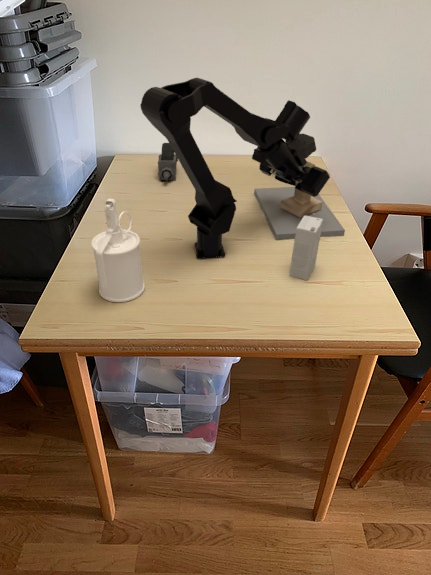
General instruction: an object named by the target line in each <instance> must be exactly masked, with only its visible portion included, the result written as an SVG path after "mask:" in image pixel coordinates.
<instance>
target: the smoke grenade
mask: <svg viewBox="0 0 431 575" xmlns="http://www.w3.org/2000/svg"><path fill="white" fill-rule="evenodd" d="M104 204H105V207H104V213H105V219H106V221H105V224H106V227H107V228H106V230H104V231H102V232H100V233H98V234H96V235H95V236H94V237H93V238H92V239H91V241H90V246H91V249H92V251H93V255H94V260H95V266H96V267H95V268H96V273H97V278H98V284H99V285H98V286H99V287H98V294H99V295H100V296H101V297H102V298H103V299H104V300H106V301H107V302H108V301H109V302H112V303H126V302H130V301H133V300H136V299H137V298H139V296H141V295H142V294H143V293H144V291H145V288H146V286H145V281H144V280H143V279H144V278H143V268H142V259H141V250H140V244H141V237H140V235H138V234H137V233H136V232H135V231H132V226H133V219H132V215H131V214H130V212H129V211H126V210H124V211H122V212H121V213H120V214H119V216H118V210H117V209H118V208H117V202H116V201H115V199H114V198H108V199H106V200H105V202H104ZM124 214H127V216H128V217H129V218H128V220H129V226H128V228H127V229H125V228H122V227H121V223H120V221H121V220H122V217H123V215H124Z"/></svg>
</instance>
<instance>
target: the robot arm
mask: <svg viewBox="0 0 431 575" xmlns="http://www.w3.org/2000/svg"><path fill="white" fill-rule="evenodd" d="M139 107H140V109H141V110H140V111H141V112H142V115H144V117H145V118H146V119H147V120H148V122H149V123H150V124H151V125H152V126H153V127H154V128H155V129H156V130H157V131H158V132H159V133H160V134H161V135H162V136H164V138H165V139H166V140H167V143H169V144H170V145H171V147H172V149H173V151H174V155H176V156H177V158H178V161H179V163H180V165H181V167H182V168H183V170H184V173H185V174H186V175H187V177H188V179H189V181H190V182H191V185H192V186H193V188H194V191H195V192H194V193H195V194H194V200H195V205H194V207H193V208H192V209H191V211H190V212H189V213H188V215H187V218H188V221H189V223H190V224H191V225H194V226H195V227H196V242H194V243H193V244H194V251H195V255H196V256H195V257H196V259H212V258H213V259H214V258H225V257H226V252H225V249H224V245H223V235H224V234H226V233H229V232H230V230H231V226H232V223H233V221H234V218H235V213H236V211H237V206H236V202H237V199H235V198H234V196H233V193H232V192H233V191H232V189H231V188H230V187H229V186H227V185H225V184H223V183H222V182H220V181H217V180H216V179H215V178H214V175H213V173H212V171H211V170H210V168H209V166H208V164H207V162H206V160H205V158H204V156H203V154H202V152H201V150H200V148H199V146H198V144H197V142H196V139H195V138H194V136H193V134H192V131H191V120H192V119H191V117H194V116H196V115H198V113H199V112H200V111H201V110H202V109H203V107H205V108H206V109H207V110H209V111H210V112H211V113H213V114H215V115H217V116H218V117H219V118H221V119H222V120H224V121H225V122H227V123H228V124H230V125H231V126H232V127H233V128H234V131H235V132H236V134H237V135H238V136H239V137H240V138H241V139H242V140H243V141H245V142H247V143H249V144H252V145H254V146H255V147H256V146H257V147H256V148H254V149H253V153H252V156H251V159H252V160H253V161H255V162H258V163H259V167H258V169H259V170H260V172H261V173H262V174H264V175H266V176H269V177H270V176H272V174H273V175H275V176H274V180H276V181H279V182H281V183H283V184H286V185H290V186H292V187H295V183H296V181H297V182H298V184H297V185H296V187H295V188H296V189H298V190H300V191H302V192H305V193H307V194H309V195H311V196H313V197H315V196H317V195H318V194H319V195H320V193H321V191H322V189H323V188H324V187H325V185H326V184H327V182H328V181H329V180H330V178H331V175H330V173H329V172H328V171H327V170H326V169H324V168H321V167H319V166H316V165H315V167H312V168H310V167H308V166H305V164H306V163H307V160H306V159H307V158H309V156H311V155H312V154H313V153H315V152H316V151H317V146H316V140H315V138H314V136H311V135H309V134H306V133H301V132H302V130H303V129H304V128H305V126H306V124H308V122H309V120H310V119H311V115H310V114H309V112H308V111H307V110H305V109H304V108H302V107H301V106H299V105H298V104H297V103H296V102H295V101H293V100H290V99H289V100H287V101H286V103H285V104H284V106H283V108H282V110H281V111H280V113H279V114H278V116H277V118H276V119H274V120H273V119H271V118H268V117H262V116H260V115H258V114H254V113H252V112H250V111H249V110H247V109H246V108H245V107H244V106H242V105H240V104H239V103H238V102H236V101H235V100H234V99H232V98H231V97H230V96H229V95H227V94H226V93H224V91H222V90H220V89H219V88H218V87H216V86H215V84H214V82H212V81H209V80H205V79H203V78H199V77H193V78H191V79H188V80H186V81H182V82H177V83H172V84H167V85H164V86H162V87H158V86H153V87H150V88H148V89H147V90H145V92H144V93H143V95H142V98H141V103H140V106H139ZM302 166H305V167H304V168H303V167H302ZM271 171H272V172H271Z"/></svg>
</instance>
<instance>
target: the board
mask: <svg viewBox="0 0 431 575" xmlns="http://www.w3.org/2000/svg"><path fill="white" fill-rule="evenodd" d="M253 190H254V192H253V194H254V196H255V198H257V199H256V201H257V200H258V201H257V203H258V204H259V207H260V209H261V211H262V214H263V215H264V218H265V220H266V222H267V224H268V225H269V228H270V230H271V232H272V234H273V236H274V239H275V240H276V241H279V240H293V239H294V240H295V235H296V228H297V226H298V225H299V223H300V222H301V220H302V218H303V217H304V216H303V217H301V218H299V217H297V216H295V215H294V214H292V213H290V212H288V211H286V210H284V209H282V208H281V201H282V200H284V199H287V198H290V197H292V196H294V192H295V186H283V187H281V186H278V187H259V188H254V189H253ZM311 197H313V196H311ZM313 198H316V199H318V200H320V201H322V202H323V203H322V209H320V210H318V211H315V212H313V213H310V214H308V215H306V216H311V217H316V218H321V219H323V224H322V230H321V235H320V238H326V237H328V238H329V237H342V236H345V232H346V230H345V228H344V227H343V225H342V223H340V221H339V220H338V219H337V217H336V216H335V215H334V213H333V212H332V210H331V209H330V208H329V206H328V204H326V202H325V200H324V199H323V198H322V196H321V195H320V193H319V194H318V195H317V196H315V197H313Z"/></svg>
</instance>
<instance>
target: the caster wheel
mask: <svg viewBox="0 0 431 575" xmlns="http://www.w3.org/2000/svg"><path fill="white" fill-rule="evenodd" d="M157 160H158V161H157V165H158V166H157V168H158V174H157V175H158V178H159V181H161V180H166V182H169V181H168V180H171V181H170V182H174V181H176V179H177V165H178V164H177V163H178V161H179V160H178V158H177V156H176V154H175V152H174V151H173V149H172V147H171V145H170V144H169V142H164V143H162V144H161V154H159V155H158V159H157ZM172 180H173V181H172Z"/></svg>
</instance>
